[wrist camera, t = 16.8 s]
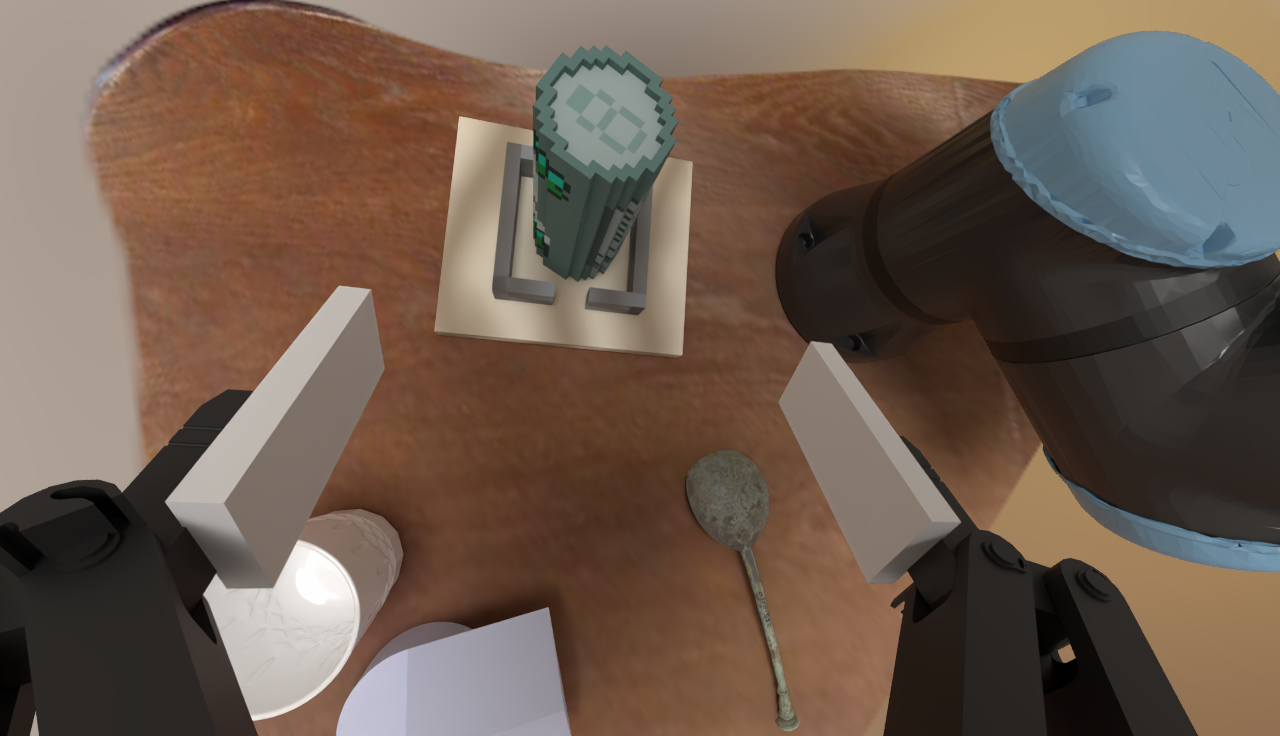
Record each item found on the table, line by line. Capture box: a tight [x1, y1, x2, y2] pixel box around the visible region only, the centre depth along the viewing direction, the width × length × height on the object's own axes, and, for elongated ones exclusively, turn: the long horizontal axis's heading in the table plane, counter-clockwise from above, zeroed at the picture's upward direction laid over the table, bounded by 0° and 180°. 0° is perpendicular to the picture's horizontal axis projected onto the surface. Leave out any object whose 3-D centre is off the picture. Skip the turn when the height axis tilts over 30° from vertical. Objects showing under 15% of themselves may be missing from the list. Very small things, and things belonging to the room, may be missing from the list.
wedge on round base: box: [336, 607, 572, 736], centre depth 28 cm, size 9×7×13 cm
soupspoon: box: [686, 450, 799, 731], centre depth 36 cm, size 22×3×7 cm
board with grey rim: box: [434, 116, 693, 358], centre depth 34 cm, size 18×16×4 cm
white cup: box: [203, 509, 404, 721], centre depth 26 cm, size 8×8×10 cm
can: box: [533, 46, 678, 282], centre depth 27 cm, size 6×6×15 cm
